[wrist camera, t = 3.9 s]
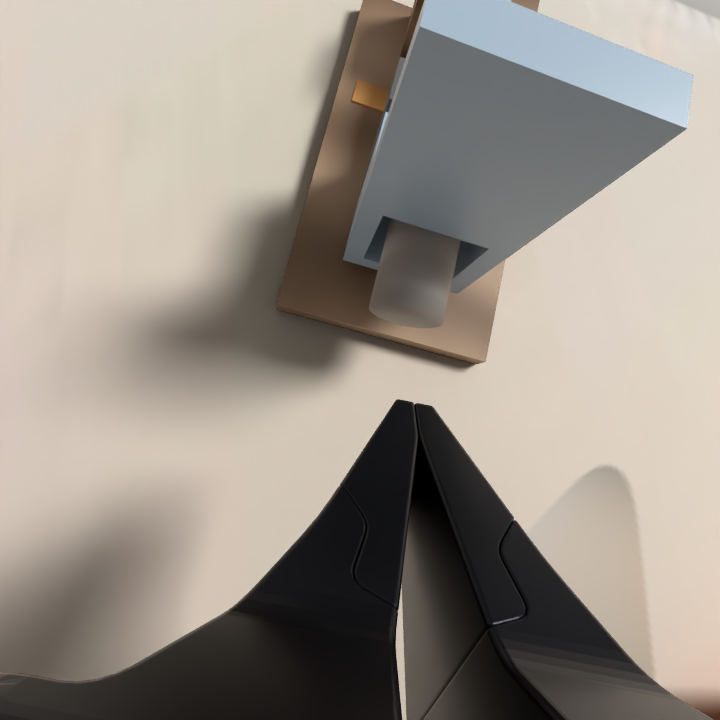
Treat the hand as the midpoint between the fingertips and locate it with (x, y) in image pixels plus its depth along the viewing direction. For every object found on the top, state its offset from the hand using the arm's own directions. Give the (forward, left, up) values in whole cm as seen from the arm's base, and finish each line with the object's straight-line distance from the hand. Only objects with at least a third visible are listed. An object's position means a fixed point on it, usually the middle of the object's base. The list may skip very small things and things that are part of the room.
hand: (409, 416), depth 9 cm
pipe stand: (+11, +6, -10) cm, 16 cm away
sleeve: (+7, +3, -8) cm, 11 cm away
